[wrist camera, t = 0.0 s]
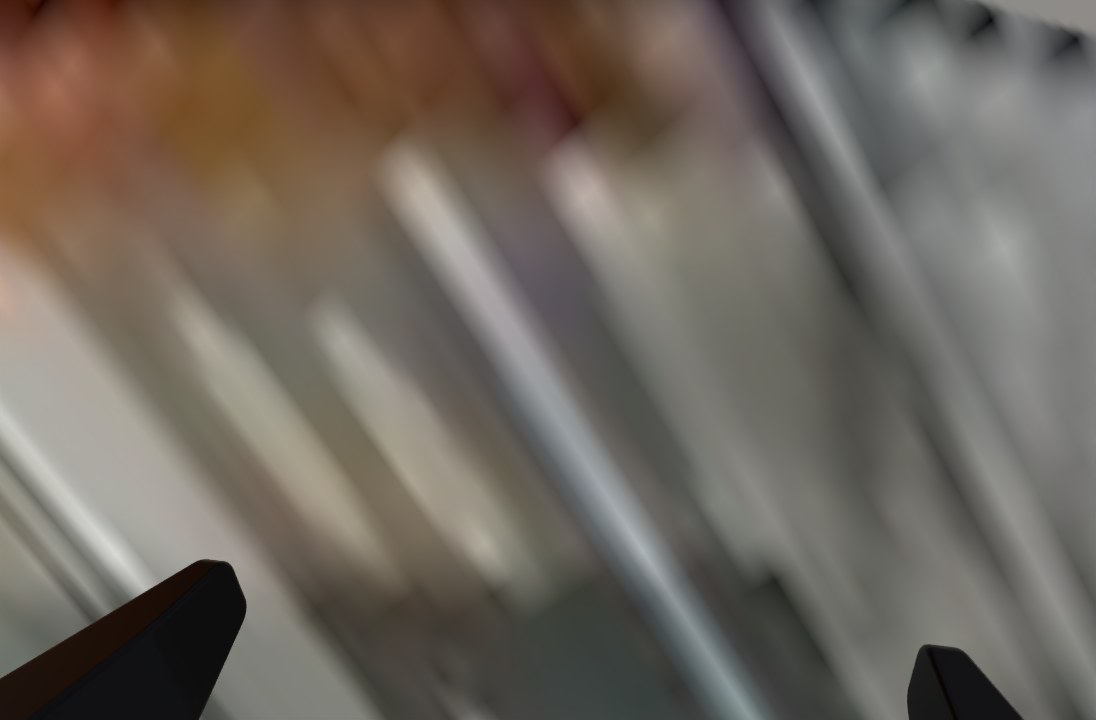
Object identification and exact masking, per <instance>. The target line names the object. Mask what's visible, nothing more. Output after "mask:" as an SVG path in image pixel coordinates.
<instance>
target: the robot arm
mask: <svg viewBox="0 0 1096 720" xmlns="http://www.w3.org/2000/svg"><path fill="white" fill-rule="evenodd" d="M246 607H247V606H246V599H245V597H244V594H243V592H242V589H241V587H240V584H239V582H238V579H237V577H236V574H235V572H234V569H233V567H232V566H231V565H230V564H229V563H228V562H225V561H217V560H209V559H203V560H199V561H196V562H195V563H193V564H191V565H189V566H188V567H186V568H184V569H183V570H181V571H179V572H178V573H176V574H174V575H173V576H171V577H169V578H168V579H166V580H164V581H163V582H161V583H159V584H158V585H156V586H154V587H153V588H151V589H149V590H148V591H146V592H144V593H143V594H141V595H139V596H138V597H136V598H134V599H133V600H131V601H129V602H128V603H126V604H124V605H123V606H121V607H119V608H118V609H116V610H114V611H112V612H111V613H109V614H107V615H106V616H104V617H102V618H101V619H99V620H97V621H96V622H94V623H92V624H91V625H89V626H87V627H86V628H84V629H82V630H81V631H79V632H77V633H76V634H74V635H72V636H71V637H69V638H67V639H66V640H64V641H62V642H61V643H59V644H57V645H56V646H54V647H52V648H51V649H49V650H47V651H46V652H44V653H42V654H41V655H39V656H37V657H36V658H34V659H32V660H31V661H29V662H27V663H26V664H24V665H22V666H21V667H19V668H17V669H16V670H14V671H12V672H11V673H9V674H7V675H6V676H4V677H2V678H1V679H0V720H199V718H200V716H201V714H202V712H203V710H204V708H205V706H206V703H207V701H208V699H209V697H210V694H211V692H212V690H213V688H214V685H215V683H216V681H217V679H218V677H219V674H220V672H221V670H222V668H223V665H224V663H225V661H226V659H227V656H228V654H229V652H230V650H231V648H232V645H233V643H234V641H235V639H236V636H237V634H238V632H239V630H240V627H241V625H242V623H243V621H244V618H245V614H246ZM907 706H908V715H909V720H1024V719H1023V717H1022V716H1021V715H1020V714H1019V713H1018V712H1017V711H1016V709H1015V708H1014V707H1013V706H1012V705H1011V704H1010V703H1009V701H1008V700H1007V699H1006V698H1005V697H1004V696H1003V695H1002V693H1001V692H1000V691H999V690H998V689H997V688H996V687H995V685H994V684H993V683H992V682H991V681H990V680H989V679H988V677H987V676H986V675H985V674H984V673H983V672H982V671H981V669H980V668H979V667H978V666H977V665H976V664H975V663H974V661H973V660H972V659H971V658H970V657H969V656H968V655H967V654H966V653H965V652H964V651H962V650H961V649H959V648H955V647H947V646H938V645H930V644H927V645H923V646H922V647H921V648H920V650H919V652H918V655H917V658H916V662H915V666H914V669H913V673H912V676H911V680H910V684H909V687H908V694H907Z"/></svg>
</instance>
